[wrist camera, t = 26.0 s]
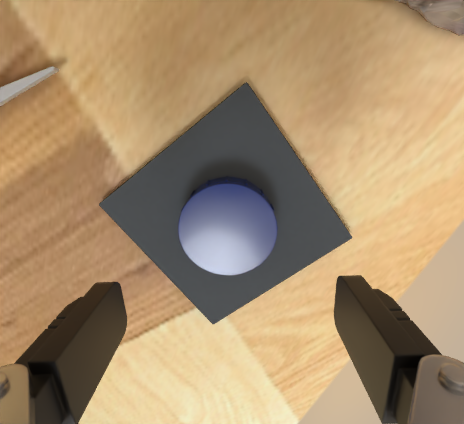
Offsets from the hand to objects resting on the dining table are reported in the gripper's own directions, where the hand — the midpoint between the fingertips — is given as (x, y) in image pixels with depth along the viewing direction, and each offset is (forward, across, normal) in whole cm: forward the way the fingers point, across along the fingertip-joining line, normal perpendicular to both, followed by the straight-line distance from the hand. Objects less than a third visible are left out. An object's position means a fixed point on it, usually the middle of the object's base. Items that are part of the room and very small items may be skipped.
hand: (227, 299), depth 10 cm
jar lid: (+7, 0, 0) cm, 7 cm away
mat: (+9, 0, 0) cm, 9 cm away
